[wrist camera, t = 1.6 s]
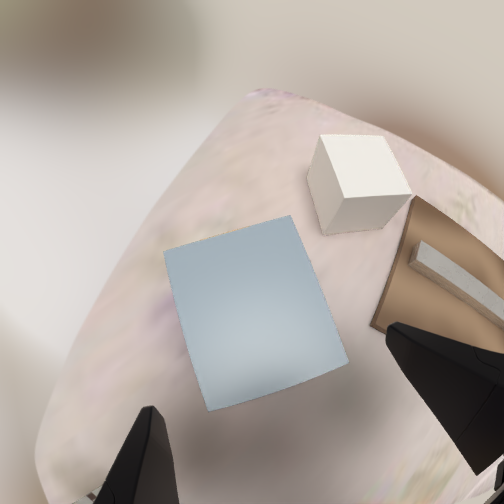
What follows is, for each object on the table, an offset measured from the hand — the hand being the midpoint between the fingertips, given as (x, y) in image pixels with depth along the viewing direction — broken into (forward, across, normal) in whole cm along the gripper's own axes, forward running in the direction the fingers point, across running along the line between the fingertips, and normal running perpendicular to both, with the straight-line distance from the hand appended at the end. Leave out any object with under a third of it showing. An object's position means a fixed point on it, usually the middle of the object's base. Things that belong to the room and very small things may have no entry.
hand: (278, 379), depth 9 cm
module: (+10, 0, +6) cm, 11 cm away
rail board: (+5, -22, +11) cm, 25 cm away
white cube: (+16, -12, 0) cm, 20 cm away
